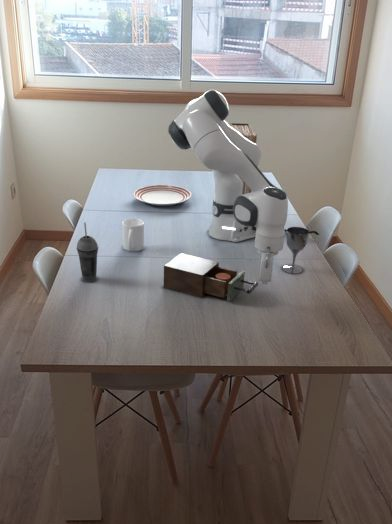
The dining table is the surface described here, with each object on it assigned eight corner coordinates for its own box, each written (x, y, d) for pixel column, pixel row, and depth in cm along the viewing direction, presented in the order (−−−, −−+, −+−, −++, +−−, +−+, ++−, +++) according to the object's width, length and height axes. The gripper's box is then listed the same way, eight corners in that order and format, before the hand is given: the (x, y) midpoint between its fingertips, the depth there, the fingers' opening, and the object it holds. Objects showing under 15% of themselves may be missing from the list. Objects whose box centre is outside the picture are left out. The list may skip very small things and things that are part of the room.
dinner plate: (170, 213, 261) (170, 206, 259) (121, 201, 273) (121, 194, 271) (202, 198, 281) (202, 191, 279) (155, 187, 293) (155, 181, 291)
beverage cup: (82, 285, 197) (78, 229, 186) (76, 276, 202) (71, 221, 192) (103, 281, 200) (100, 226, 189) (95, 273, 205) (92, 218, 195)
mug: (140, 256, 219) (140, 230, 214) (118, 255, 220) (118, 229, 214) (145, 244, 229) (145, 219, 224) (125, 243, 230) (124, 218, 224)
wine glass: (305, 267, 217) (311, 228, 209) (301, 275, 211) (307, 236, 203) (284, 263, 219) (289, 225, 211) (279, 271, 213) (284, 232, 205)
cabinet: (217, 283, 203) (219, 261, 198) (201, 297, 193) (203, 275, 189) (180, 274, 208) (181, 252, 203) (163, 287, 198) (163, 265, 194)
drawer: (259, 292, 196) (261, 275, 193) (246, 306, 187) (248, 288, 184) (207, 279, 203) (208, 262, 200) (193, 292, 194) (193, 274, 191)
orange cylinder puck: (225, 283, 198) (226, 272, 196) (231, 290, 194) (232, 278, 192) (212, 285, 196) (213, 273, 194) (218, 292, 192) (218, 280, 190)
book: (251, 199, 284) (257, 135, 267) (232, 198, 283) (237, 134, 267) (243, 183, 305) (248, 123, 289) (226, 183, 304) (230, 123, 288)
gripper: (278, 256, 170) (273, 298, 178) (280, 231, 188) (275, 270, 195) (257, 253, 171) (252, 295, 178) (260, 229, 188) (256, 268, 196)
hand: (264, 282), depth 187 cm, fingers closed
